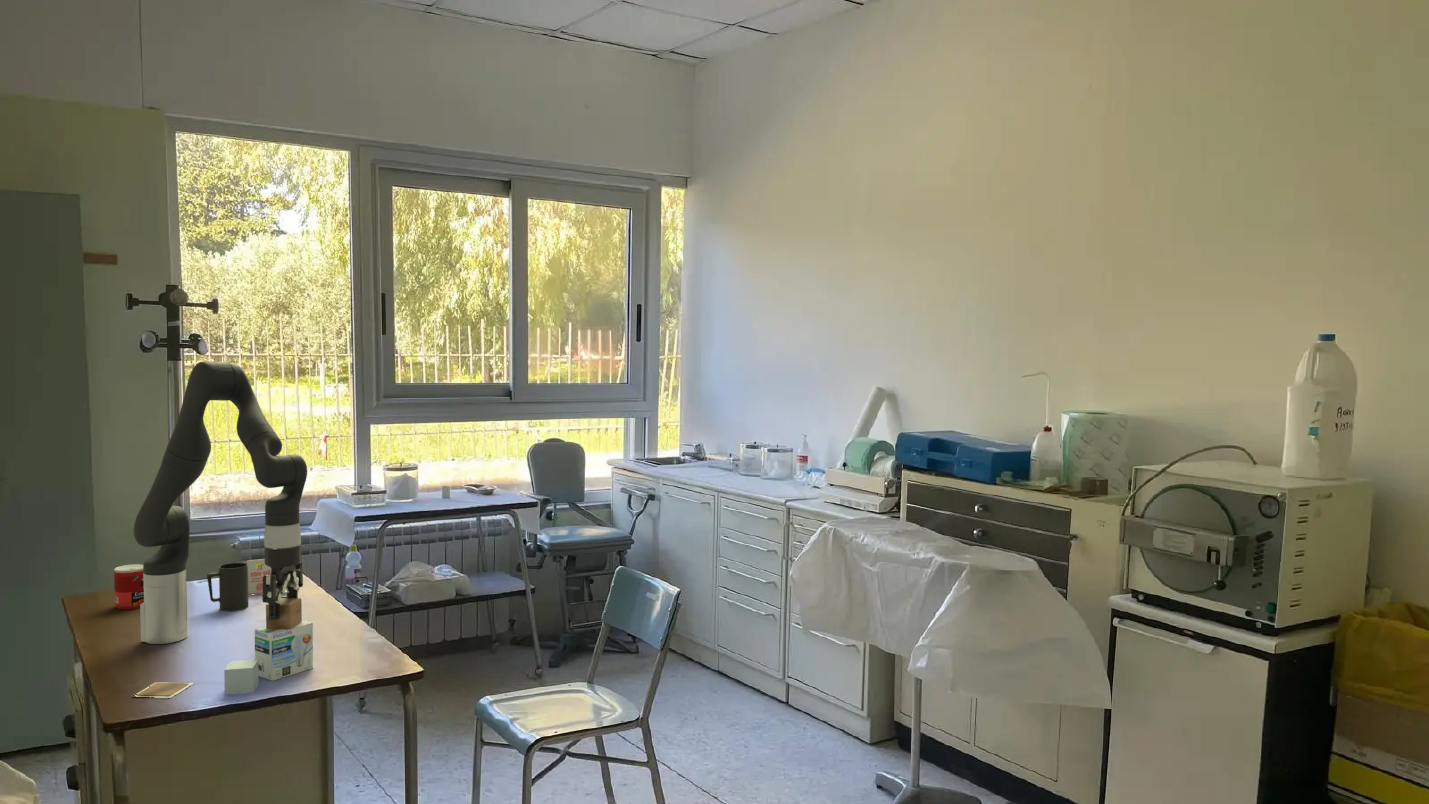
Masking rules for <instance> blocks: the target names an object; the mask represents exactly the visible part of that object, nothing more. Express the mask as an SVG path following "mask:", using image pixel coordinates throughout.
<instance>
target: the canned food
mask: <svg viewBox="0 0 1429 804" xmlns="http://www.w3.org/2000/svg"><path fill="white" fill-rule="evenodd" d="M113 574H114V575H113V578H114V579H113V580H114V581H113V582H114V583H113V584H114V585H113V586H114V606H115V608H116V609H119V610H134V609H139V608H140V605H141V604H142V603H144V578H143V564H138V563H134V564H133V563H132V564H126V565H120V566H117V567H115V568H114V569H113Z"/></svg>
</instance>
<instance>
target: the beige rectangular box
mask: <svg viewBox="0 0 1429 804" xmlns="http://www.w3.org/2000/svg"><path fill="white" fill-rule="evenodd" d="M245 563H246V564H248V596H253V595H252V594H256V595H263V576H264V575H270V574H271V567H269V566H266V565H265V558H259V559H250V560H245ZM267 594H269V592H267Z"/></svg>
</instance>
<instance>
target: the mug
mask: <svg viewBox="0 0 1429 804" xmlns="http://www.w3.org/2000/svg"><path fill="white" fill-rule="evenodd" d="M213 577H218V582H219V583H218V585H219V597H217V598H215V597H213V594H214V593H213V586H212V585H213V584H212V578H213ZM206 579H207V584H208V591H209V600H210V602H212V603H216V602H219V610H220V611H222V612H236V611H242V610H246V609H247V608H248V607H249V595H248V564H246V562H230V563H225V564H221V565H219V566H218V572H208V573H206Z"/></svg>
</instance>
